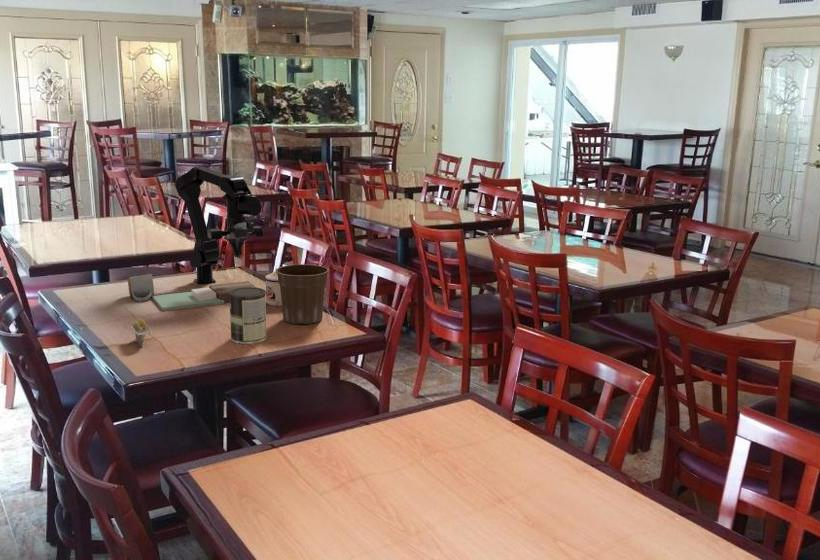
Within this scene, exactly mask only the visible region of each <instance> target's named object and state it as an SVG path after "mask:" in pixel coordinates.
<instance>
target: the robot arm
mask: <svg viewBox="0 0 820 560" xmlns="http://www.w3.org/2000/svg"><path fill="white" fill-rule="evenodd" d="M204 182H206V183H209V184H212V185H213V186H216V187H219V189H220V191H221V192H223V193H225V194H224V195H222V197H221V198H222V200H225V201H226V215H225V217H226V225H227V226H226V230H221V229H220V228H209V229H208V227H207V222H206V219H205V215H204V212H203V209H202V205H201V201H200V196H201V193H202V190H201V188H202V187H201V186H202V185H203V184H204ZM246 182H247V181H246V180H245V178H244V177H243V176H242V175H241V176H240V175H227V174H223V173H221V172H219V171H216V170H212V169H210V168H207V167H206V166H202V165H201V166H193V167H192V168H191V169H189V170H188V171H186V172H185V173H184V174H182V175H180V176H179V177H177V179H176V180H175V182H174V187H175V190H176V192H177V195H178V196H179V198H181V200H182V201H183V202H184V203H185V206H186V210H187V213H188V216H189V220H190V224H191V228H192V231H193V235H194V238H195V243H194V246H193V251H194V253H193V255H192V257H191V258H190V260H189V263H190V266H191V267H192V268H193V267H194V268H196V269H195V270H196V278H194V279H193V281H194V282H195V283H196V284H198V285H202V284H211V283H216V280H215V279H214V275H213V274H214V273H213V265H217V264H218V263H219V262H218V261H219V257H220V248H219V245H218V241H217V240H222V239H223V238H224V239H225V240H226V241H228V243H229V245H230V247H231V249H232V251H233V254H234V256H235V258H239V256H240V253H241V249H242V248H243V245H244V243H245V241H246V240H249V235H253V236H255V237H264V236H265V230H264V228H263V227H261V226H259V225H254V222H253V221H248V222H247V221H246V217H245V215H246V216H252V217H257V216H259V215H260V213H261V211H262V204H261V202H260V200H259V199H258V198H257V195H253V194H252V191H251V190H250V188H249V186H248V184H247V183H246Z"/></svg>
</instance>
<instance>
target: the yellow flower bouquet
mask: <svg viewBox="0 0 820 560" xmlns="http://www.w3.org/2000/svg"><path fill="white" fill-rule="evenodd" d="M134 321H135V323H130V327H131V329H132V330H133V331H134V333H135V334H134V335H135V341H136V343H138V346H140V348H143V342H144V341H145V337H146V335H147V334H148V333H151V328H150V327H149V325H148V324H147V323H145V321H144V320H143V319H142V318H141V319H135V320H134ZM141 327H142V329H141Z"/></svg>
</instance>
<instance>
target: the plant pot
mask: <svg viewBox="0 0 820 560" xmlns="http://www.w3.org/2000/svg"><path fill="white" fill-rule="evenodd" d="M275 271H276V273H277V274H278V282H279V284H280V291H281V301H282V306H281V309H282V310H281V311H282V320H283V321H284V322H285V323H286V324H287V323H288V324H291V325H292V324H293V325H300V324H303V325H310V324H311V325H313V324H317V323H319V322H321V321H322V320H323V314H324V313H323V312H324V300H325V292H326V284H327V280H328V279H327V278H328V274H329V271H330V269H329V268H328V267H326V266H323V265H319V264H318V265H317V264H309V263H308V264H307V263H305V264H304V263H300V264H288V265H283V266H279V267H277V268H276V269H275Z"/></svg>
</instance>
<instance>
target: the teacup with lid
mask: <svg viewBox="0 0 820 560" xmlns="http://www.w3.org/2000/svg"><path fill="white" fill-rule="evenodd" d="M264 280H265V291H266V294H265V299H266V304H267V305H269V306H273V307H275V306H277V307H282V301H281V291H280V284H279V282H278V274H277V273H276V270H275V271H273V272H271V273H269V274H267V275H265V277H264Z"/></svg>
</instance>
